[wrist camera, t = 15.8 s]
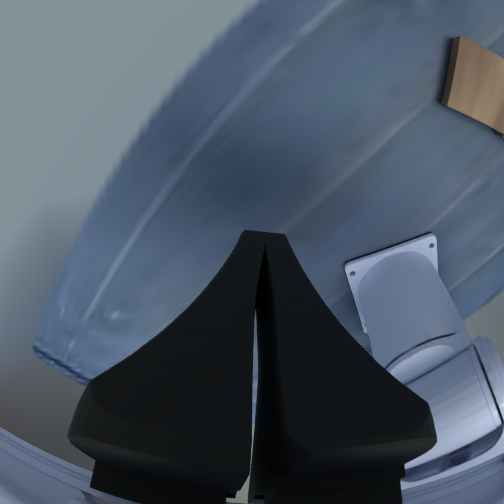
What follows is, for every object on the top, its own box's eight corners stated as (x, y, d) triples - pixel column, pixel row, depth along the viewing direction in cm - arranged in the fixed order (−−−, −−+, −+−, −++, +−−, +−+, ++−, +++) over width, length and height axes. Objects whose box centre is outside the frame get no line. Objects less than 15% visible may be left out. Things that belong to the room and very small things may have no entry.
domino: (453, 38, 12) (541, 90, 10) (440, 103, 15) (527, 149, 13) (460, 36, 10) (552, 92, 9) (447, 106, 13) (537, 155, 12)
